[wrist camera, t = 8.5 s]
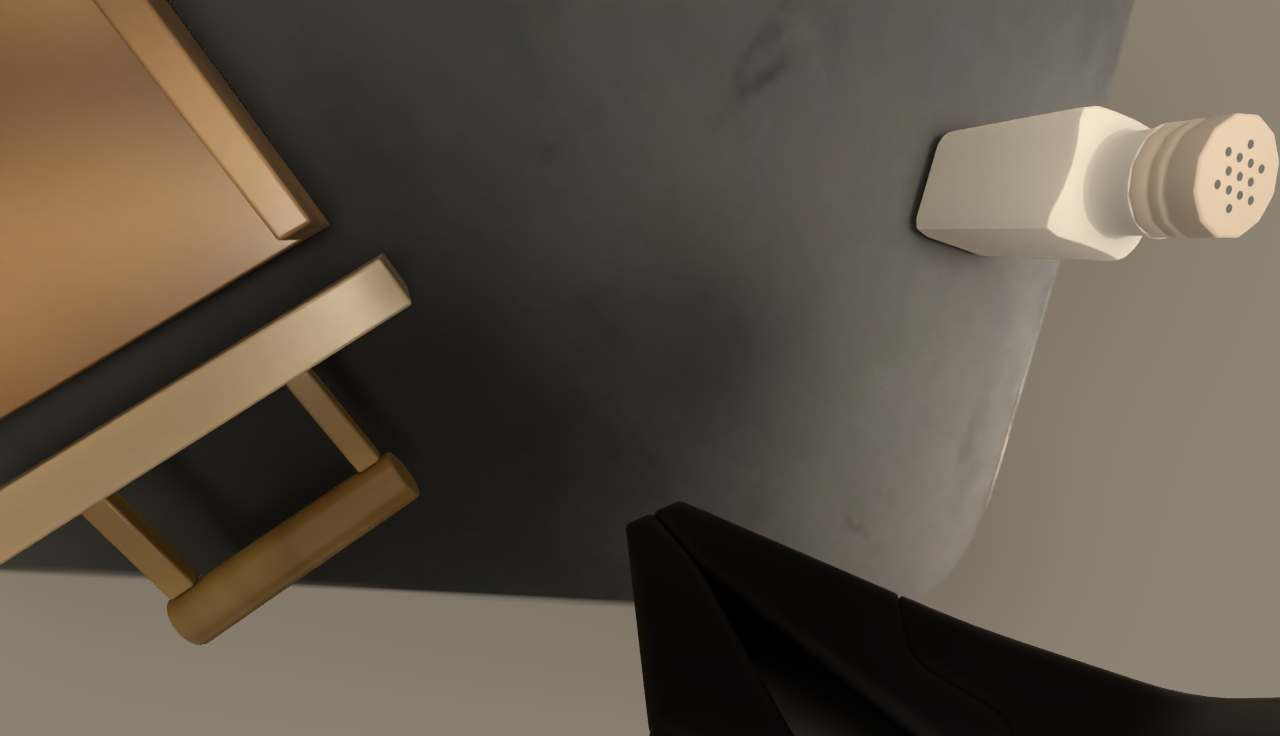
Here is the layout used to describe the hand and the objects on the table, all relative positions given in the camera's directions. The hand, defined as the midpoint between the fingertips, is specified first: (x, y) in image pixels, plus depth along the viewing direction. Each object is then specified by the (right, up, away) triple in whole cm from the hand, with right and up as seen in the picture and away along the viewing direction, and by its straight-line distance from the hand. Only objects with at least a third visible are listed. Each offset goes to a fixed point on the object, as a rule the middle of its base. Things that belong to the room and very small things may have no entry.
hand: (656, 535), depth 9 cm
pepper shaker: (+12, +9, +17) cm, 23 cm away
